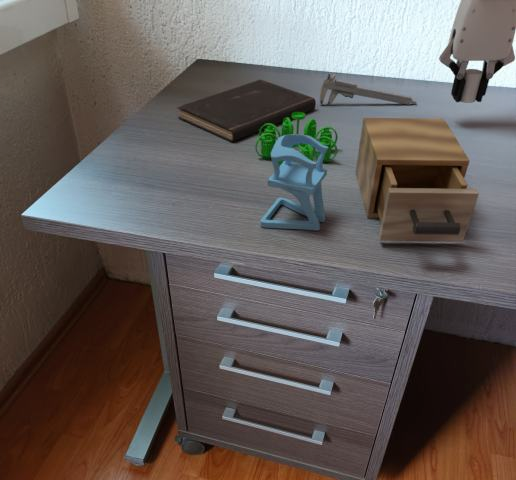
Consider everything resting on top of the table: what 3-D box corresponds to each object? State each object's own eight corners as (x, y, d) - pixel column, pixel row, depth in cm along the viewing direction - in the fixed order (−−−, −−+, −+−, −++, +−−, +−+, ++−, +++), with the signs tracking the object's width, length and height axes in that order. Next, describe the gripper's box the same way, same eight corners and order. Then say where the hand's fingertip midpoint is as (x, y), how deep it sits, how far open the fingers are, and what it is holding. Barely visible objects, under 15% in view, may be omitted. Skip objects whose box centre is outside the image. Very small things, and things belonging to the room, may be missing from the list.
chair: (313, 239, 74) (321, 157, 65) (259, 226, 76) (260, 145, 67) (330, 213, 79) (339, 133, 70) (278, 202, 81) (281, 123, 73)
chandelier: (351, 147, 95) (356, 108, 90) (316, 181, 86) (320, 140, 81) (278, 130, 100) (279, 92, 95) (238, 161, 91) (237, 120, 86)
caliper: (319, 106, 109) (322, 73, 105) (319, 104, 110) (321, 72, 106) (416, 105, 110) (423, 72, 106) (415, 103, 111) (421, 71, 106)
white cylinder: (472, 97, 100) (479, 68, 97) (477, 103, 98) (485, 74, 95) (455, 97, 101) (462, 68, 97) (460, 103, 98) (467, 74, 95)
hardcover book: (178, 118, 104) (177, 106, 102) (260, 90, 116) (260, 79, 114) (233, 143, 96) (232, 130, 94) (315, 110, 108) (316, 98, 106)
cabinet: (452, 219, 78) (469, 160, 71) (367, 218, 78) (377, 159, 71) (430, 173, 88) (444, 118, 82) (355, 172, 88) (363, 117, 82)
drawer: (472, 262, 68) (490, 212, 63) (385, 261, 68) (396, 211, 63) (439, 193, 81) (452, 147, 76) (366, 192, 82) (374, 146, 76)
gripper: (537, -22, 89) (503, 92, 102) (439, -20, 89) (418, 93, 102) (554, -13, 84) (517, 106, 96) (450, -12, 84) (427, 107, 97)
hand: (466, 98), depth 99 cm, fingers closed on white cylinder, 3 cm apart
